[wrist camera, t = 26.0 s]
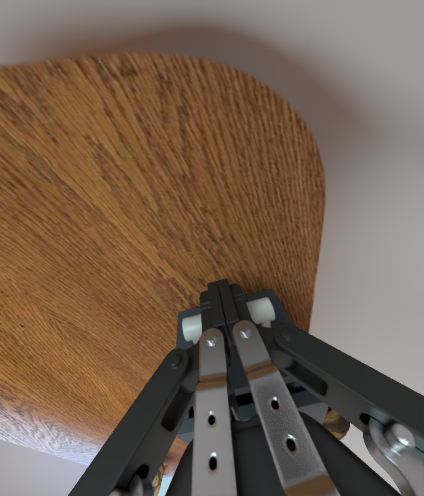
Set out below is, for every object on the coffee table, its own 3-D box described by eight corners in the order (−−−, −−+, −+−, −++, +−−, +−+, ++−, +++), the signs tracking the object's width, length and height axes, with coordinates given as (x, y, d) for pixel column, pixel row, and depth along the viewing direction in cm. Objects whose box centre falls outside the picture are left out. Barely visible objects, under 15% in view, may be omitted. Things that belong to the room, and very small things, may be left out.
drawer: (163, 283, 17) (145, 377, 10) (270, 255, 16) (327, 332, 10) (204, 364, 25) (210, 444, 18) (275, 347, 25) (307, 421, 18)
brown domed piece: (171, 439, 57) (159, 448, 46) (175, 494, 49) (161, 521, 38) (140, 450, 55) (119, 463, 44) (139, 509, 48) (114, 541, 37)
